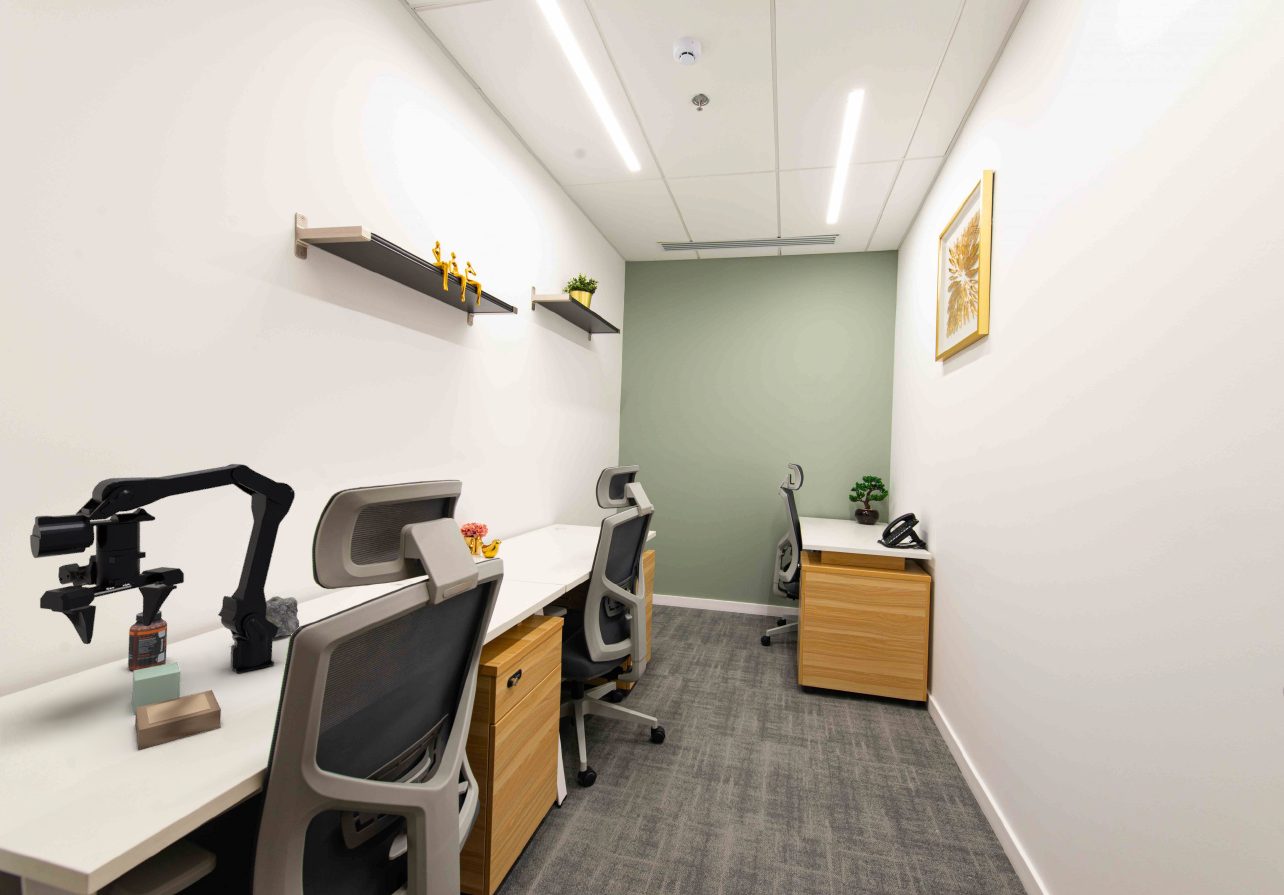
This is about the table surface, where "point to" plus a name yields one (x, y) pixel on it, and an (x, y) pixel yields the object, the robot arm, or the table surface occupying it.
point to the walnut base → (176, 718)
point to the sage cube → (155, 685)
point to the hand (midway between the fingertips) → (118, 634)
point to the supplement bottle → (147, 643)
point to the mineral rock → (282, 615)
